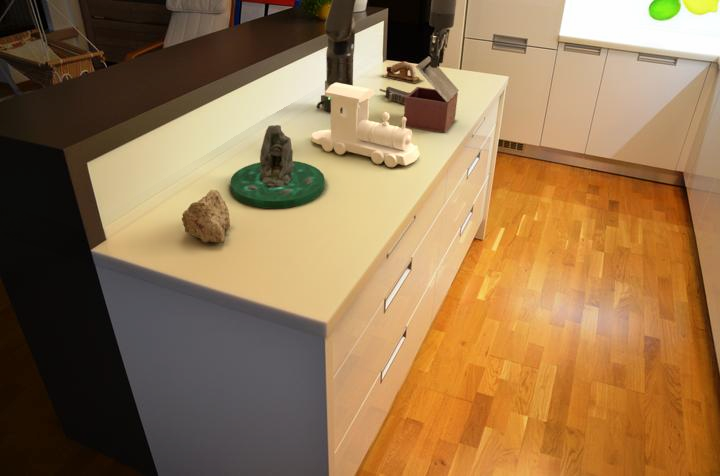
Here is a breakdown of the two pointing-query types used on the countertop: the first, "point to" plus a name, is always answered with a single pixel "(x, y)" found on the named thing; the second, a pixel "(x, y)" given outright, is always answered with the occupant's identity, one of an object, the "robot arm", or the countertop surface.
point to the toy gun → (395, 94)
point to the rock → (207, 218)
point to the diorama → (277, 176)
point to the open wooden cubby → (429, 110)
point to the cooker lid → (437, 79)
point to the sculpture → (402, 72)
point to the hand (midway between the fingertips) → (436, 64)
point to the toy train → (364, 129)
